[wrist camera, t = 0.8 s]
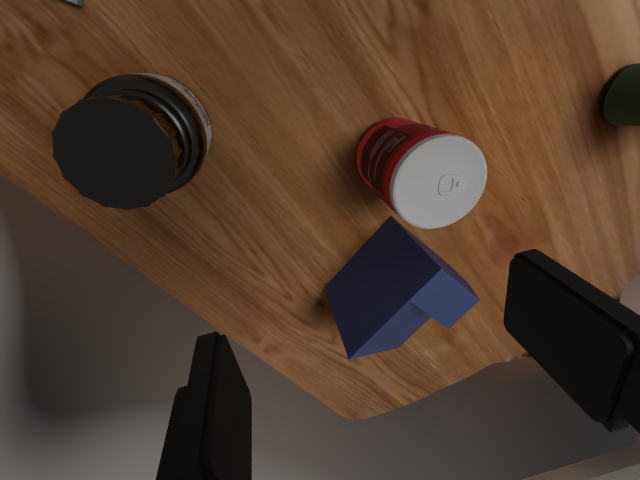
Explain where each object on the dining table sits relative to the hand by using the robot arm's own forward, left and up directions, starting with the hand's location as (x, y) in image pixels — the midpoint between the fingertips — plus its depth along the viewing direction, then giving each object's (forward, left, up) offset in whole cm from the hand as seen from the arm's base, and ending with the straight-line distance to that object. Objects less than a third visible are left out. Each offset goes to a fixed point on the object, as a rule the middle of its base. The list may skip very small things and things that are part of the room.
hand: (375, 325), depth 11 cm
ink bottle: (+2, -12, -27) cm, 29 cm away
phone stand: (+11, +17, -27) cm, 34 cm away
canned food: (-3, +10, -27) cm, 29 cm away
